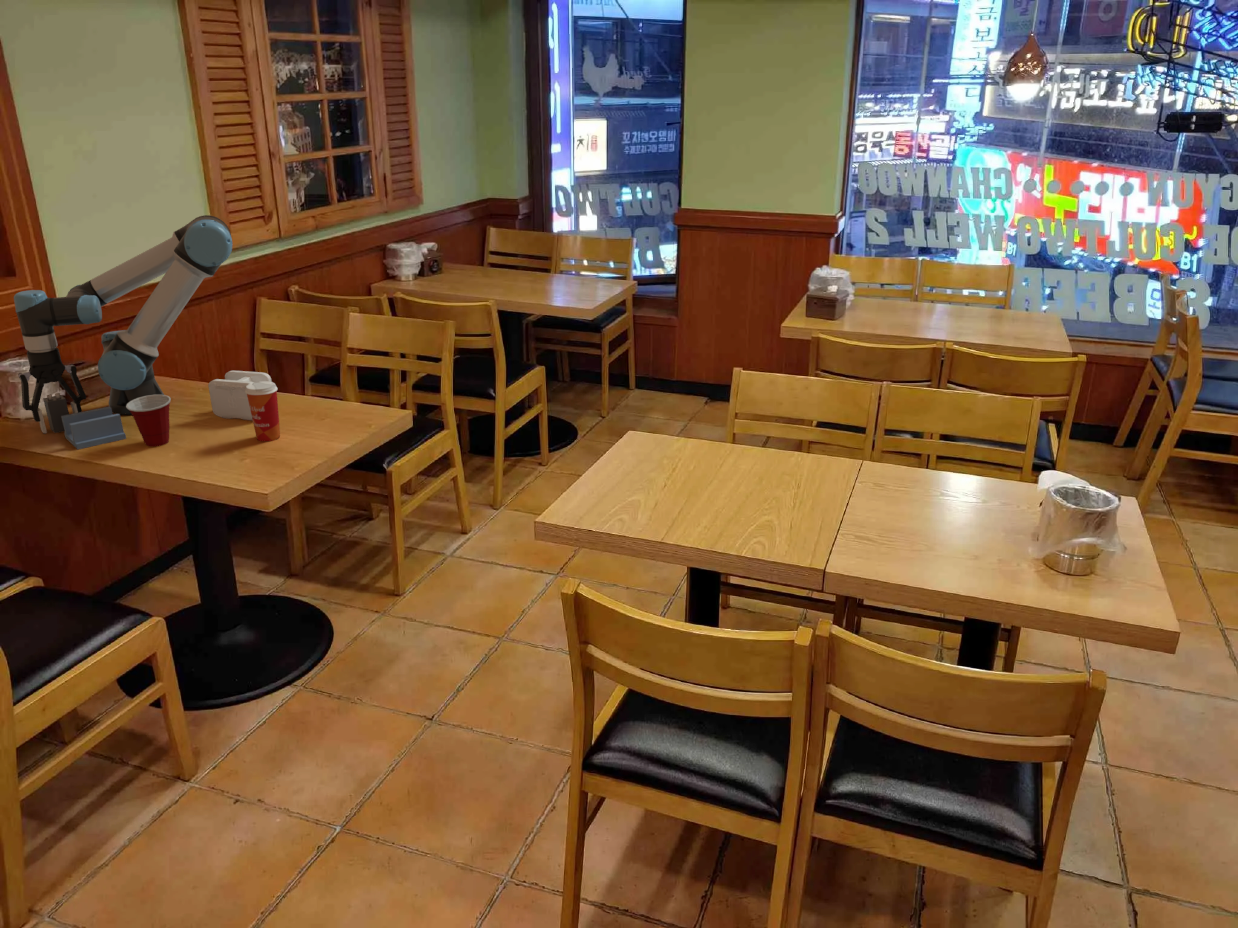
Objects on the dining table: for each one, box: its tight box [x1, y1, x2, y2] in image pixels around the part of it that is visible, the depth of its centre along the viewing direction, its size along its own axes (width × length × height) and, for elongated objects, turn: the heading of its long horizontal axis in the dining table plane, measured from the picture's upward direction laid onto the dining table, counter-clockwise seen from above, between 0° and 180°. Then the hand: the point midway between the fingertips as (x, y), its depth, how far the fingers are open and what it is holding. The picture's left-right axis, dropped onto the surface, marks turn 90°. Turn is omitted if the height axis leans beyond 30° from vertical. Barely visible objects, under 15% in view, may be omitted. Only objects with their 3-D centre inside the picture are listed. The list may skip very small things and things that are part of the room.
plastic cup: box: [126, 394, 172, 448], centre depth 245 cm, size 11×11×12 cm
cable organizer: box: [208, 370, 272, 421], centre depth 266 cm, size 15×11×12 cm
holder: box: [61, 405, 127, 450], centre depth 249 cm, size 12×12×6 cm
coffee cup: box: [245, 381, 281, 442], centre depth 248 cm, size 8×8×15 cm
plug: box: [42, 392, 70, 434], centre depth 255 cm, size 4×4×10 cm
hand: (61, 428), depth 256 cm, fingers open, 8 cm apart
